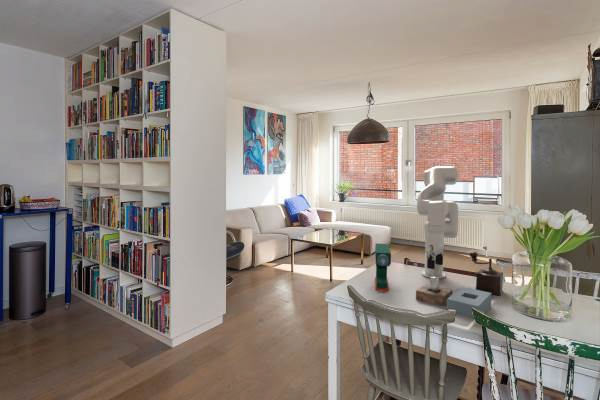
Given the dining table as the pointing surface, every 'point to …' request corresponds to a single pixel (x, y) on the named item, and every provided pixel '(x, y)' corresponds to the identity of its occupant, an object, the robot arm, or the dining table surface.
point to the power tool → (382, 266)
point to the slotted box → (469, 301)
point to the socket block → (433, 295)
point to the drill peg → (434, 284)
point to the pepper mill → (488, 278)
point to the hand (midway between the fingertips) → (435, 266)
